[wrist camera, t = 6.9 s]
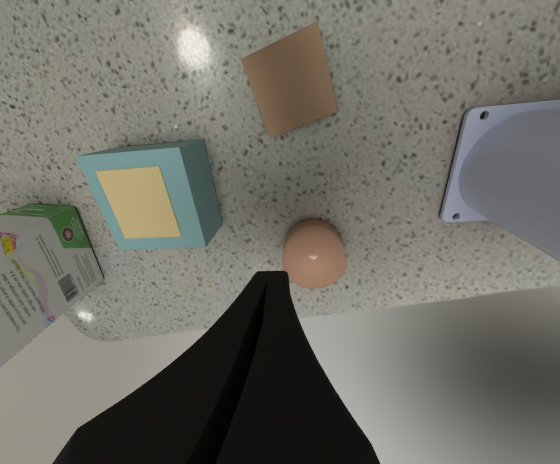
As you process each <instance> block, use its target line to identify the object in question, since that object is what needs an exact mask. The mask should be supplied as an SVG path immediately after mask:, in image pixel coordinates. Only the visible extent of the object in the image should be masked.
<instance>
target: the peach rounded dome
mask: <svg viewBox="0 0 560 464" xmlns="http://www.w3.org/2000/svg"><path fill="white" fill-rule="evenodd" d="M346 262H347V261H346V256H345V252H344V248H343V245H342V241H341V237H340V235H339V233H338V231H337V230H336V229H335V227H333V226H332V225H331V224H329V223H327V222H325V221H322V220H316V219H311V220H305V221H302V222H300V223H298V224H296V225H295V226H294V227H292V228H291V230H290V231H289V232H288V234H287V236H286V240H285V246H284V253H283V260H282V264H283V269H284V271H286V272H287V273H288V276H289V279H291V280H292V281H293V282H294V283H296V284H298V285H300V286H303V287H307V288H322V287H326V286H329V285H331V284H333V283H334V282H336V281H337V280H338V279H339V278H340V277H341V276H342V275H343V273H344V271H345V269H346Z"/></svg>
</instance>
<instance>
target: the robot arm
mask: <svg viewBox="0 0 560 464" xmlns="http://www.w3.org/2000/svg"><path fill="white" fill-rule="evenodd" d="M483 111H484V112H485V115H484V117H483V118H482V119H480V114H481V113H482V112H483ZM456 213H457V215H456V216H455V217H453V215H454V214H456ZM440 218H441V220H443V221H444V222H468V221H492V222H494V223H496V224H497V225H499V226H501V227H502V228H504V229H506V230H508V231H509V232H511V233H513V234H514V235H516V236H518V237H519V238H521V239H523V240H524V241H526V242H528V243H529V244H531V245H533V246H535V247H536V248H538V249H540V250H541V251H543V252H545V253H546V254H548V255H550V256H551V257H553V258H555V259H556V260H558V261H560V100H549V101H538V102H528V103H517V104H506V105H495V106H484V107H474V108H471V109H469V110H468V111H467V112H466V113H465V116H464V119H463V123H462V127H461V131H460V135H459V139H458V144H457V148H456V152H455V156H454V160H453V164H452V168H451V172H450V177H449V181H448V185H447V189H446V193H445V197H444V201H443V205H442V209H441V214H440ZM52 464H380V462H379V460H378V458H377V456H376V454H375V451H374V449H373V447H372V445H371V443H370V441H369V440H368V438H367V437H366V436H365V434H364V433H363V431H362V430H361V429H360V427H359V426H358V424H357V423H356V421H355V420H354V418H353V417H352V416H351V414H350V412H349V411H348V409H347V408H346V406H345V405H344V403H343V402H342V400H341V399H340V397H339V395H338V394H337V392H336V391H335V389H334V388H333V386H332V384H331V383H330V381H329V379H328V377H327V376H326V374H325V372H324V370H323V369H322V367H321V365H320V364H319V362H318V360H317V358H316V356H315V354H314V352H313V350H312V348H311V346H310V345H309V342H308V340H307V338H306V336H305V334H304V331H303V329H302V327H301V324H300V322H299V319H298V317H297V314H296V311H295V308H294V305H293V302H292V299H291V295H290V288H289V276H288V273H287V272H286V271H257V272H256V273H255V275H254V276H253V277H252V279H251V280H250V281H249V283H248V284H247V285H246V287H245V288H244V289H243V291H242V292H241V293H240V295H239V296H238V297H237V298H236V300H235V301H234V302H233V303H232V304H231V306H230V307H229V308H228V309H227V310H226V311H225V313H224V314H223V315H222V316H221V317H220V318H219V319H218V320H217V321H216V323H215V324H214V325H213V326H212V327H211V328H210V329H209V330H208V331H207V332H206V333H205V334H204V335H203V336H202V337H201V338H200V339H198V340H197V341H196V342H195V343H194V344H193V345H192V346H191V347H190V348H189V349H187V350H186V351H185V352H184V353H183V354H182V355H181V356H179V357H178V358H177V359H176V360H174V361H173V362H172V363H171V364H170V365H168V366H167V367H166V368H165V369H163V370H162V371H161V372H160V373H158V374H157V375H156V376H155V377H153V378H152V379H150V380H149V381H148V382H146V383H145V384H143V385H142V386H141V387H139V388H138V389H136V390H135V391H134V392H132V393H131V394H129V395H128V396H126V397H125V398H124V399H122V400H121V401H119V402H118V403H116V404H114V405H113V406H112V407H110V408H108V409H107V410H105V411H104V412H102V413H101V414H99V415H98V416H96V417H95V418H93V419H92V420H90V421H88V422H87V423H85V424H84V425H82V426H80V427H79V428H78V429H77V430H76V431H75V433H74V434H73V436H72V437H71V438H70V440H69V441H68V442H67V444H66V445H65V446H64V448H63V449H62V451H61V452H60V454H59V455H58V456H57V458H56V459H55V461H54V462H53V463H52Z"/></svg>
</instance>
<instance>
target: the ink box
mask: <svg viewBox="0 0 560 464" xmlns="http://www.w3.org/2000/svg"><path fill="white" fill-rule="evenodd" d="M102 280H103V276H102V273H101V271H100V268H99V266H98V263H97V261H96V258H95V256H94V253H93V250H92V248H91V245H90V243H89V240H88V238H87V235H86V233H85V230H84V228H83V225H82V223H81V220H80V218H79V215H78V212H77V210H76V209H75V208H74V207H73V206H60V205H44V204H28V205H25V206H22V207H20V208H17V209H14V210H11V211H8V212H6V213H3V214H0V367H1V366H2V365H4V364H5V363H6V362H7V361H8V360H10V359H11V358H12V357H13V356H14V355H16V354H17V353H18V352H19V351H20V350H21V349H23V348H24V347H25V346H26V345H27V344H28V343H30V342H31V341H32V340H33V339H34V338H35V337H37V336H38V335H39V334H40V333H41V332H42V331H44V330H45V329H46V328H47V327H48V326H49V325H51V324H52V323H53V322H54V321H55V320H56V319H58V318H59V317H60V316H61V315H62V314H63V313H65V312H66V311H67V310H68V309H69V308H70V307H72V306H73V305H74V304H75V303H76V302H77V301H79V300H80V299H81V298H82V297H83V296H84V295H86V294H87V293H88V292H89V291H90V290H91V289H93V288H94V287H95V286H96V285H97V284H98V283H100V282H101V281H102Z"/></svg>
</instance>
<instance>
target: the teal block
mask: <svg viewBox="0 0 560 464" xmlns="http://www.w3.org/2000/svg"><path fill="white" fill-rule="evenodd" d="M75 157H76V159H77V161H78V163H79V165H80V167H81V169H82V172H83V174H84V176H85V178H86V180H87V182H88V184H89V186H90V188H91V191H92V193H93V195H94V197H95V199H96V201H97V203H98V205H99V208H100V210H101V212H102V214H103V216H104V218H105V220H106V222H107V225H108V227H109V229H110V231H111V233H112V235H113V237H114V239H115V241H116V244H117V246H118V248H119V250H131V249H161V248H191V247H206V246H207V245H208V244H209V242H210V241H211V239H212V238H213V236H214V235H215V234H216V232H217V231H218V229H219V228H220V226H221V225H222V219H221V215H220V210H219V206H218V201H217V197H216V192H215V188H214V183H213V179H212V174H211V170H210V165H209V161H208V156H207V152H206V148H205V143H204V140H194V141H183V142H171V143H160V144H149V145H138V146H127V147H117V148H113V149H108V150H103V151H98V152H94V153H89V154H84V155H79V156H75Z"/></svg>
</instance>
